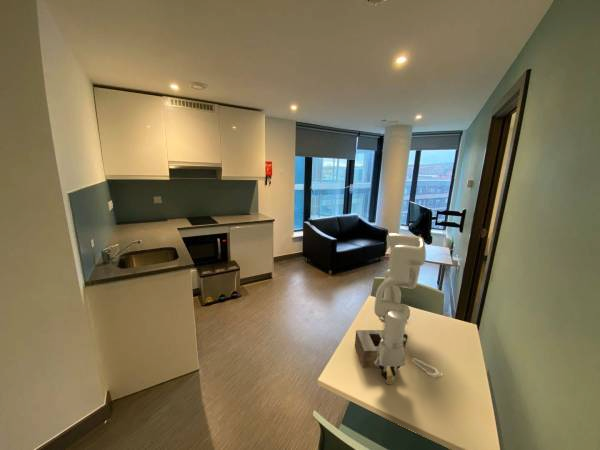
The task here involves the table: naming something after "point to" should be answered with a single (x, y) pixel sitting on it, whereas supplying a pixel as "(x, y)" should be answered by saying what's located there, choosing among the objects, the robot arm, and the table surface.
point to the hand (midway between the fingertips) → (387, 376)
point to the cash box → (368, 346)
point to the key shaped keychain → (428, 367)
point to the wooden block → (389, 376)
